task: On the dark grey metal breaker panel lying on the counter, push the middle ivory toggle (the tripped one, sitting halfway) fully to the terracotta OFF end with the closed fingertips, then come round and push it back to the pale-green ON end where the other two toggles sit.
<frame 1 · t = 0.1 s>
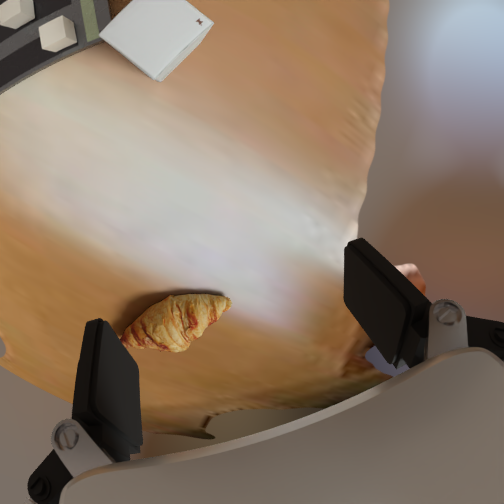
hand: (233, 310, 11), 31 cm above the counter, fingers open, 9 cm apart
croissant: (172, 315, 51), on the counter
panel: (29, 17, 20), on the counter
supplement box: (159, 46, 29), on the counter
breaker b: (17, 11, 17), point 4 cm above the counter, slide at 0.0 cm
breaker c: (58, 34, 21), point 4 cm above the counter, slide at 5.0 cm
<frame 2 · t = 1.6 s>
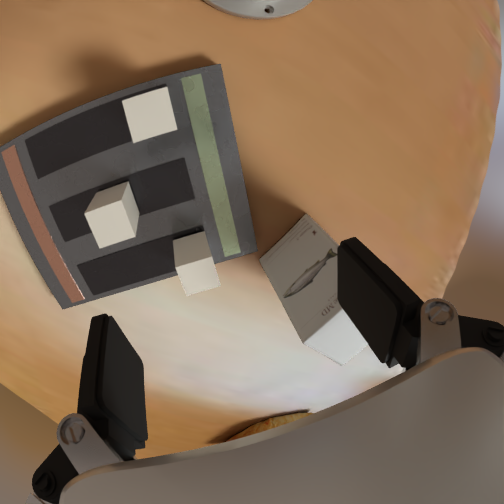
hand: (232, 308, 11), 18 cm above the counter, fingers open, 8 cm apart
breaker a: (151, 112, 19), point 4 cm above the counter, slide at 5.0 cm
croissant: (265, 426, 55), on the counter
panel: (120, 195, 25), on the counter
supplement box: (299, 252, 34), on the counter
breaker b: (114, 213, 22), point 4 cm above the counter, slide at 0.0 cm
breaker c: (195, 262, 26), point 4 cm above the counter, slide at 5.0 cm
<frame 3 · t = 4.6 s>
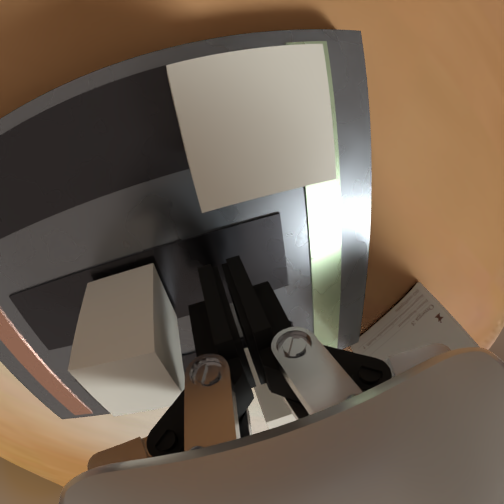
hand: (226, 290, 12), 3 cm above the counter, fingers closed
breaker a: (236, 113, 7), point 4 cm above the counter, slide at 5.0 cm
panel: (141, 273, 14), on the counter
supplement box: (395, 326, 23), on the counter
breaker b: (131, 339, 10), point 4 cm above the counter, slide at -0.3 cm, touching gripper
breaker c: (285, 388, 14), point 4 cm above the counter, slide at 5.0 cm
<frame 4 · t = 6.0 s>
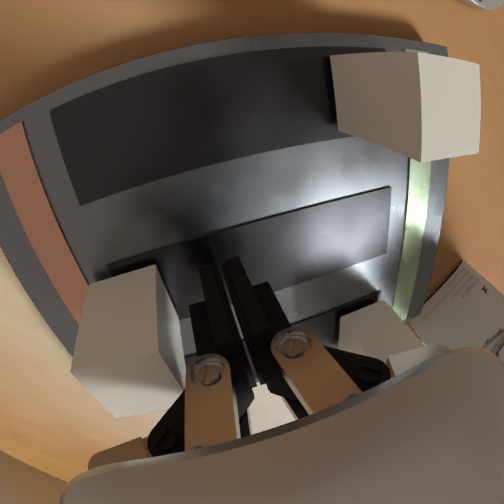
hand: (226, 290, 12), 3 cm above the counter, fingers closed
breaker a: (404, 97, 8), point 4 cm above the counter, slide at 5.0 cm
panel: (257, 241, 14), on the counter
supplement box: (441, 304, 23), on the counter
breaker b: (133, 340, 10), point 4 cm above the counter, slide at -6.0 cm, touching gripper
breaker c: (379, 351, 15), point 4 cm above the counter, slide at 5.0 cm
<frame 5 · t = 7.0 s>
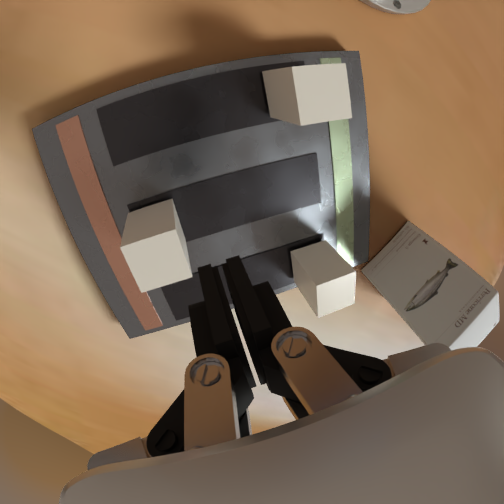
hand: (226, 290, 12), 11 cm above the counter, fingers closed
breaker a: (304, 91, 15), point 4 cm above the counter, slide at 5.0 cm
panel: (225, 194, 21), on the counter
supplement box: (394, 261, 30), on the counter
breaker b: (156, 242, 17), point 4 cm above the counter, slide at -5.1 cm
breaker c: (322, 277, 22), point 4 cm above the counter, slide at 5.0 cm
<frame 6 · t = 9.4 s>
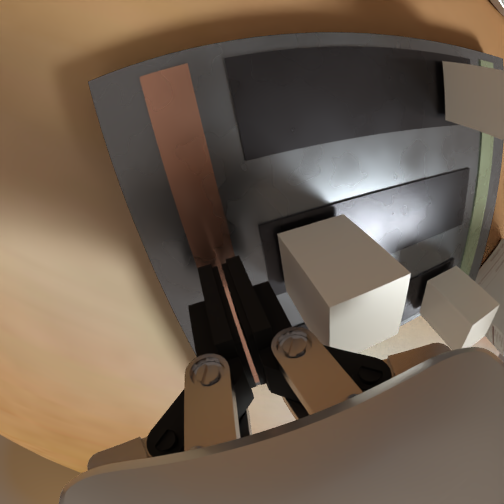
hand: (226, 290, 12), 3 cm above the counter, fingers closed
breaker a: (496, 100, 9), point 4 cm above the counter, slide at 5.0 cm
panel: (372, 210, 15), on the counter
supplement box: (483, 278, 24), on the counter
breaker b: (338, 283, 11), point 4 cm above the counter, slide at -4.4 cm, touching gripper
breaker c: (458, 309, 16), point 4 cm above the counter, slide at 5.0 cm
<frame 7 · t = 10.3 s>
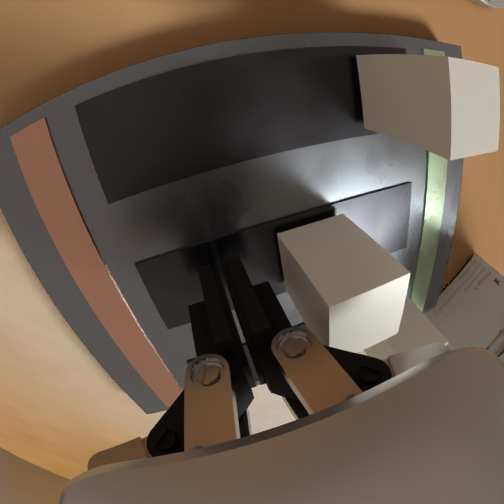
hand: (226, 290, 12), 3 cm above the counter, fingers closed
breaker a: (429, 96, 8), point 4 cm above the counter, slide at 5.0 cm
panel: (283, 237, 14), on the counter
supplement box: (453, 296, 23), on the counter
breaker b: (338, 283, 11), point 4 cm above the counter, slide at 0.7 cm, touching gripper
breaker c: (400, 342, 15), point 4 cm above the counter, slide at 5.0 cm
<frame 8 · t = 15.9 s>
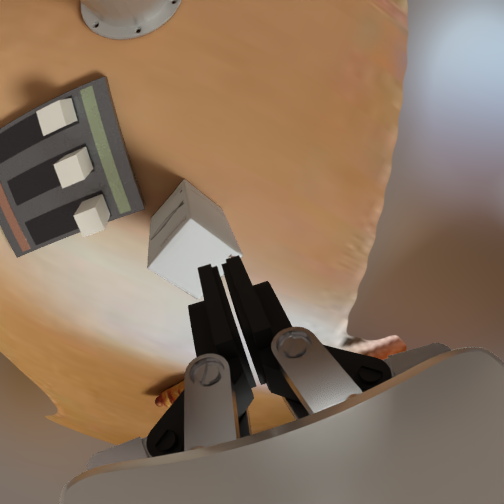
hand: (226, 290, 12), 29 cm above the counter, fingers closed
breaker a: (57, 116, 26), point 4 cm above the counter, slide at 5.0 cm
croissant: (200, 385, 62), on the counter
panel: (51, 172, 32), on the counter
supplement box: (186, 212, 41), on the counter
breaker b: (74, 166, 29), point 4 cm above the counter, slide at 5.1 cm
breaker c: (92, 215, 33), point 4 cm above the counter, slide at 5.0 cm
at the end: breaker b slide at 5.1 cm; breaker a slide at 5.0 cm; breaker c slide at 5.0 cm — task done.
